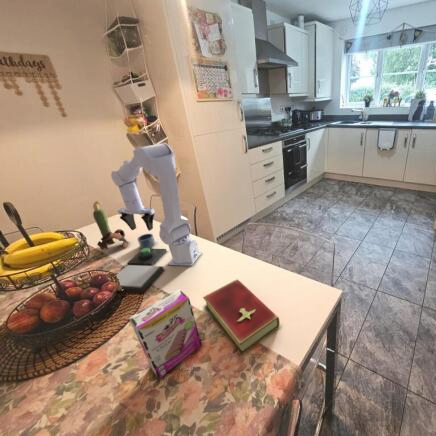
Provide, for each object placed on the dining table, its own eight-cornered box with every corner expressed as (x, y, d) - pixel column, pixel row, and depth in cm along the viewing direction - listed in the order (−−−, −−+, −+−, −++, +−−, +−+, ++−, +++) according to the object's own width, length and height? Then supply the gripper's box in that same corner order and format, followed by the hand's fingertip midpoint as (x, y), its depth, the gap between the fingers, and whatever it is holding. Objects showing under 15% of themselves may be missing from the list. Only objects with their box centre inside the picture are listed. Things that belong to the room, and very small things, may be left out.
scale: (164, 270, 91) (162, 265, 90) (143, 293, 80) (141, 287, 79) (129, 269, 92) (127, 263, 91) (104, 291, 81) (101, 286, 80)
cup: (158, 242, 109) (155, 233, 107) (150, 249, 104) (147, 240, 102) (146, 242, 110) (143, 233, 108) (137, 249, 104) (134, 240, 102)
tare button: (152, 250, 98) (150, 247, 97) (147, 255, 95) (146, 251, 95) (145, 250, 98) (143, 247, 98) (140, 254, 96) (139, 251, 95)
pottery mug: (125, 252, 103) (107, 241, 98) (109, 261, 105) (90, 250, 100) (135, 232, 112) (119, 221, 107) (120, 241, 114) (104, 230, 109)
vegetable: (103, 243, 109) (84, 202, 101) (111, 238, 113) (95, 198, 104) (110, 245, 108) (92, 203, 99) (119, 240, 112) (102, 199, 103)
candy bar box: (159, 381, 54) (136, 330, 47) (150, 367, 57) (126, 317, 50) (203, 345, 62) (189, 296, 55) (193, 334, 65) (178, 287, 58)
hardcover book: (240, 287, 81) (238, 277, 79) (279, 326, 66) (278, 315, 64) (205, 306, 74) (202, 296, 72) (241, 354, 59) (239, 343, 57)
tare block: (166, 251, 102) (164, 245, 101) (152, 266, 93) (149, 260, 92) (144, 251, 103) (142, 245, 102) (128, 265, 94) (125, 259, 93)
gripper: (155, 195, 100) (163, 225, 106) (122, 195, 101) (133, 224, 107) (144, 202, 94) (154, 233, 100) (109, 202, 95) (121, 232, 101)
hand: (142, 229), depth 103 cm, fingers open, 7 cm apart
